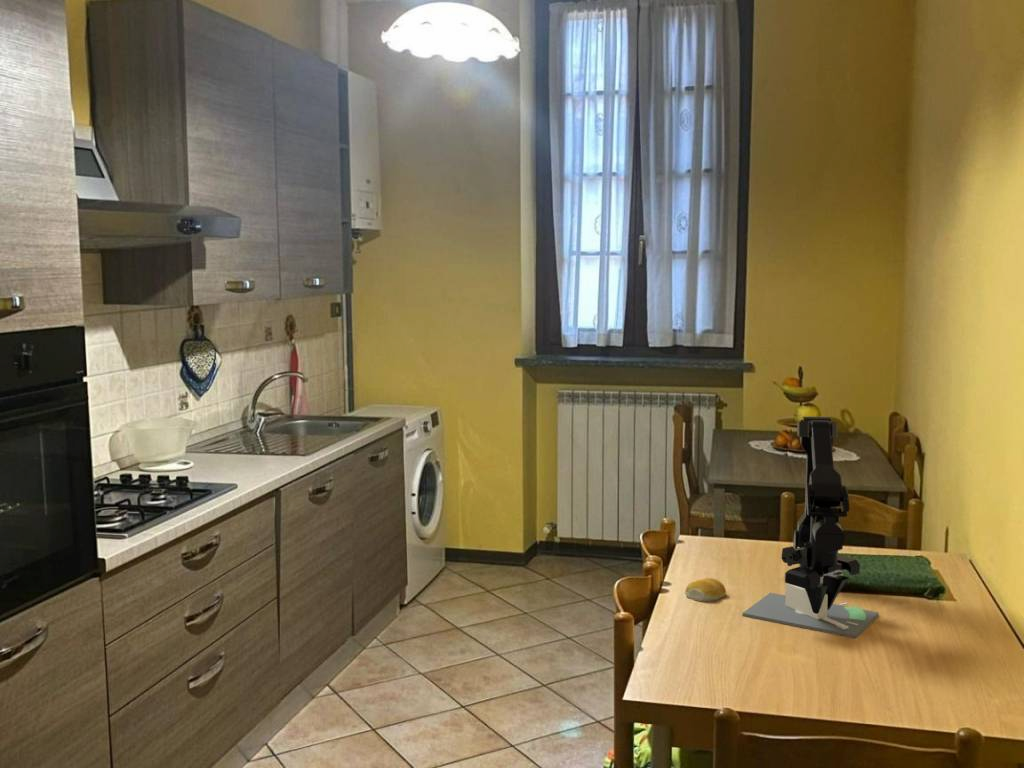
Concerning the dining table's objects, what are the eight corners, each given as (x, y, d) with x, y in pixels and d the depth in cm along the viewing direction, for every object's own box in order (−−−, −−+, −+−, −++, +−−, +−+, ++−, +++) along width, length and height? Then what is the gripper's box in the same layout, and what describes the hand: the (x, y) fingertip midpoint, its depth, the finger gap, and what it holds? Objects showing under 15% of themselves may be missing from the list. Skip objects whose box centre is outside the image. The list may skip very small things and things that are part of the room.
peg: (794, 603, 222) (795, 580, 221) (851, 628, 206) (852, 603, 206) (785, 605, 221) (785, 582, 220) (841, 630, 205) (842, 605, 205)
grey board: (773, 592, 231) (774, 589, 231) (881, 612, 217) (881, 608, 217) (742, 615, 217) (742, 612, 216) (855, 638, 203) (856, 634, 203)
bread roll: (731, 595, 231) (731, 578, 230) (710, 605, 224) (710, 587, 224) (700, 587, 236) (700, 570, 236) (678, 597, 230) (678, 580, 229)
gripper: (817, 524, 223) (814, 592, 225) (764, 537, 211) (762, 610, 213) (862, 534, 214) (859, 606, 216) (810, 549, 203) (807, 624, 205)
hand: (821, 611), depth 213 cm, fingers open, 3 cm apart
